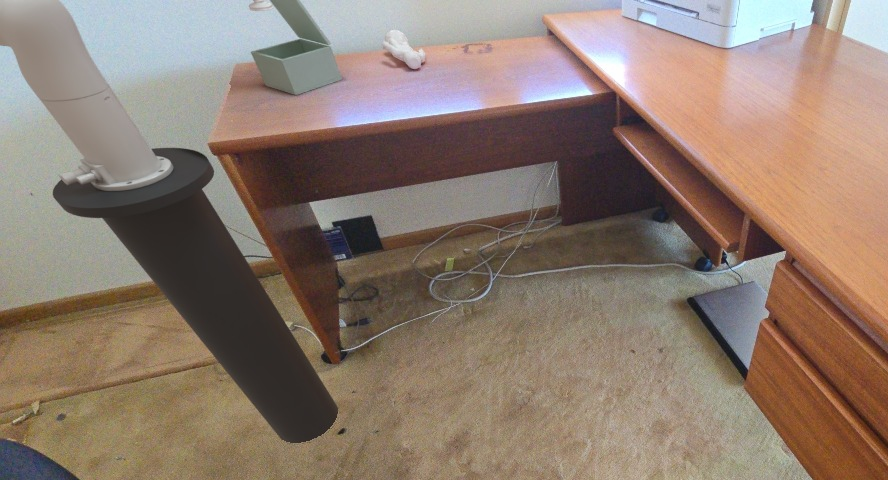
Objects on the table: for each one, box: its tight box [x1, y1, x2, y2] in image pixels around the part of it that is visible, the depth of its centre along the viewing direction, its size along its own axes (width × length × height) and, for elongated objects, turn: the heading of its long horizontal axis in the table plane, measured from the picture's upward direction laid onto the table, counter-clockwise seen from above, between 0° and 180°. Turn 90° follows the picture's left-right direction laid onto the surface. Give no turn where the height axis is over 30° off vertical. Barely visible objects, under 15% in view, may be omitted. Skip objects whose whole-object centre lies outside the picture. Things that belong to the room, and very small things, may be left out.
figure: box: [381, 29, 426, 70], centre depth 145 cm, size 11×7×20 cm
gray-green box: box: [250, 38, 343, 96], centre depth 130 cm, size 14×12×8 cm
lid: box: [269, 0, 332, 46], centre depth 125 cm, size 14×12×5 cm
